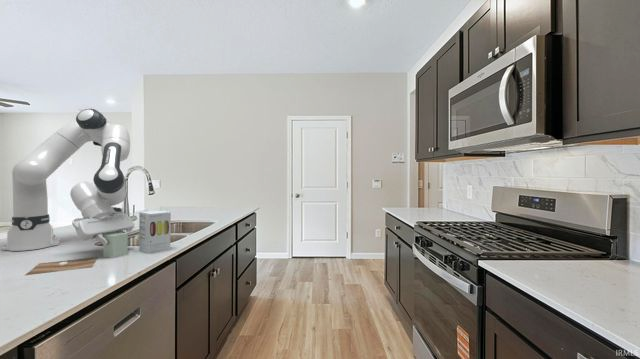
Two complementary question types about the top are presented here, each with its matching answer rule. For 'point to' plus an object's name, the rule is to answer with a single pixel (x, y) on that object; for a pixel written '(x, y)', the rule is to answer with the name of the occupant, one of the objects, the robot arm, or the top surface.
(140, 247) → the supplement box
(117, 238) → the sage green eraser
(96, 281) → the top surface
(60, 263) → the cream dish
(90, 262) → the walnut board
